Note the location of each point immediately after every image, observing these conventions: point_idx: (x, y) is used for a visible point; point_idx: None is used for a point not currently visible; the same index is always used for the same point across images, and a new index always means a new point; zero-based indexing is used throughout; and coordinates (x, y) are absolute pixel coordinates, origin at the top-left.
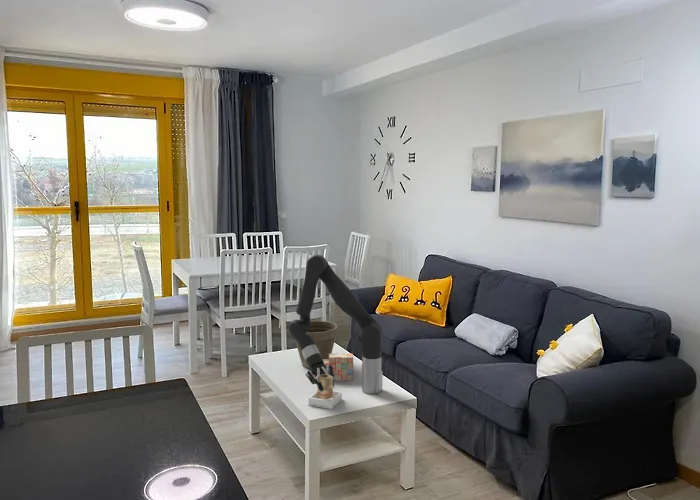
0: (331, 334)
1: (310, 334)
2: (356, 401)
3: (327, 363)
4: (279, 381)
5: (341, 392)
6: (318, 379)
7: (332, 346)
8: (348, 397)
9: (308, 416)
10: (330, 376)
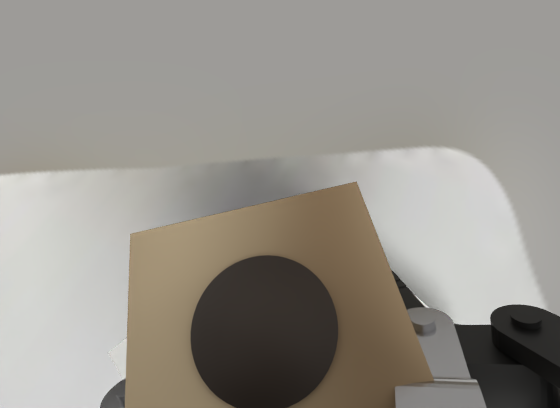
0: None
1: None
2: (81, 273)
3: None
4: None
5: (114, 350)
6: (432, 346)
7: None
8: (72, 377)
9: (496, 184)
10: (168, 250)
